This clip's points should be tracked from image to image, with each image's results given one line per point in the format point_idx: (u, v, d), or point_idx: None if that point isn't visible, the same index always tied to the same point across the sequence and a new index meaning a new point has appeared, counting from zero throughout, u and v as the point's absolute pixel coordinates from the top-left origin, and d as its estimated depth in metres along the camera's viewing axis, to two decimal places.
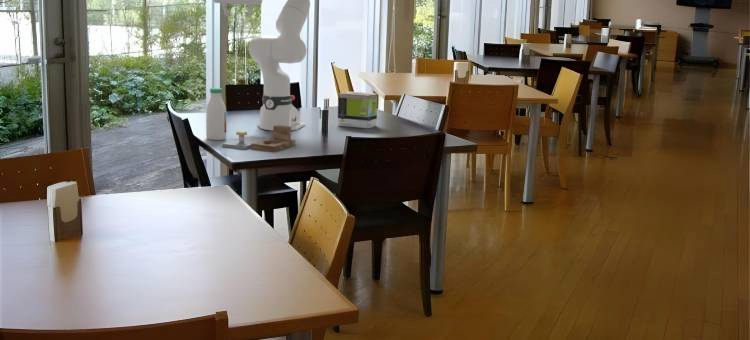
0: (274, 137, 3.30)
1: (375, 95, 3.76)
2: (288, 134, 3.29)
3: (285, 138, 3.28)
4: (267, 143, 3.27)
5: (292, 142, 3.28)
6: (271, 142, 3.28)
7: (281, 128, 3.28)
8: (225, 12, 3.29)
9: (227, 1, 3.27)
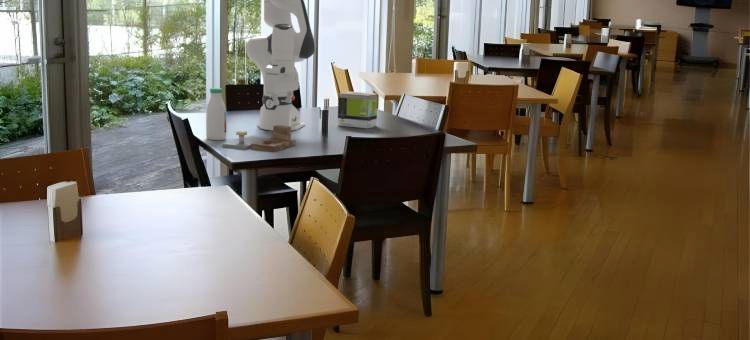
0: (274, 137, 3.30)
1: (375, 95, 3.76)
2: (288, 134, 3.29)
3: (285, 138, 3.28)
4: (267, 143, 3.27)
5: (292, 142, 3.28)
6: (271, 142, 3.28)
7: (281, 128, 3.28)
8: (278, 102, 3.22)
9: (282, 90, 3.23)
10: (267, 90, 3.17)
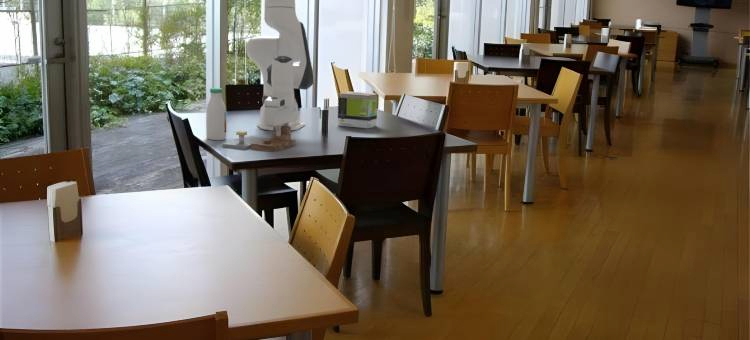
0: (274, 137, 3.30)
1: (375, 95, 3.76)
2: (288, 134, 3.29)
3: (285, 138, 3.28)
4: (267, 143, 3.27)
5: (292, 142, 3.28)
6: (271, 142, 3.28)
7: (281, 128, 3.28)
8: (281, 133, 3.27)
9: (281, 122, 3.25)
10: (267, 123, 3.20)
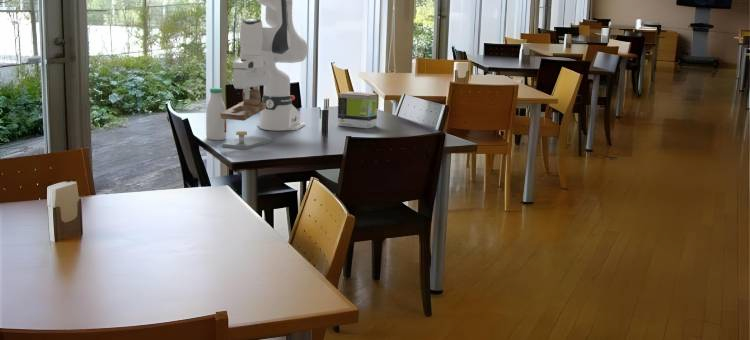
0: (244, 102, 3.28)
1: (375, 95, 3.76)
2: (258, 98, 3.26)
3: (255, 102, 3.26)
4: (237, 109, 3.25)
5: (262, 106, 3.26)
6: (241, 108, 3.26)
7: (250, 93, 3.25)
8: (249, 96, 3.25)
9: (250, 85, 3.23)
10: (235, 85, 3.17)
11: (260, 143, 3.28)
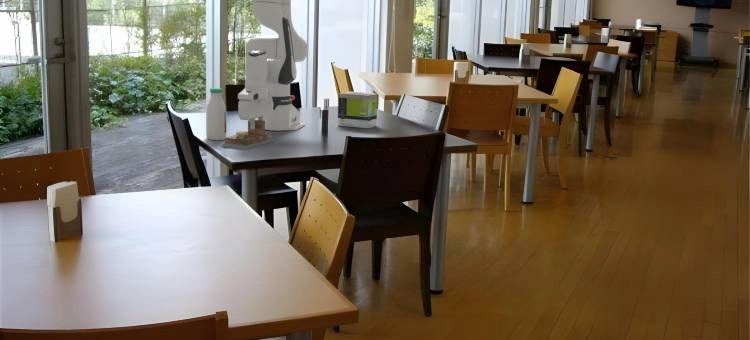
0: (248, 131, 3.33)
1: (375, 95, 3.76)
2: (262, 128, 3.32)
3: (259, 132, 3.32)
4: None
5: (266, 136, 3.31)
6: (245, 136, 3.31)
7: (255, 122, 3.31)
8: (255, 126, 3.31)
9: (255, 116, 3.29)
10: (240, 116, 3.24)
11: (260, 143, 3.28)
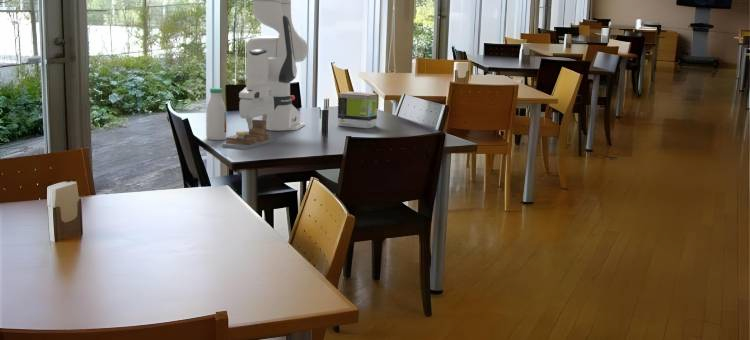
0: (250, 131, 3.34)
1: (375, 95, 3.76)
2: (263, 128, 3.33)
3: (260, 132, 3.32)
4: None
5: (267, 136, 3.32)
6: (246, 136, 3.32)
7: (256, 122, 3.32)
8: (252, 125, 3.29)
9: (256, 114, 3.29)
10: (241, 115, 3.24)
11: (260, 143, 3.28)
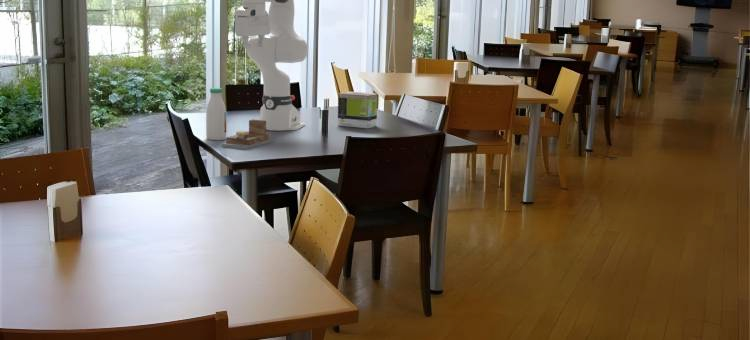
0: (250, 131, 3.34)
1: (375, 95, 3.76)
2: (263, 128, 3.33)
3: (260, 132, 3.32)
4: None
5: (267, 136, 3.32)
6: (246, 136, 3.32)
7: (256, 122, 3.32)
8: (248, 45, 3.23)
9: (252, 34, 3.23)
10: (237, 33, 3.18)
11: (260, 143, 3.28)
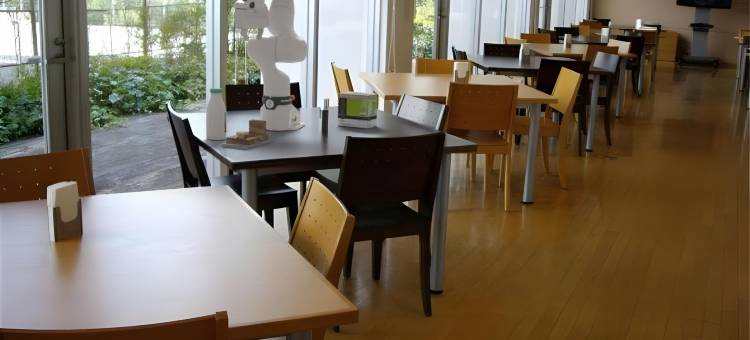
0: (250, 131, 3.34)
1: (375, 95, 3.76)
2: (263, 128, 3.33)
3: (260, 132, 3.32)
4: None
5: (267, 136, 3.32)
6: (246, 136, 3.32)
7: (256, 122, 3.32)
8: (247, 37, 3.22)
9: (252, 26, 3.22)
10: (236, 25, 3.17)
11: (260, 143, 3.28)
